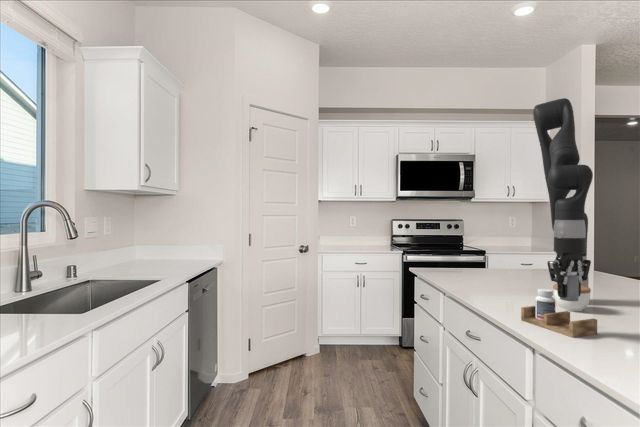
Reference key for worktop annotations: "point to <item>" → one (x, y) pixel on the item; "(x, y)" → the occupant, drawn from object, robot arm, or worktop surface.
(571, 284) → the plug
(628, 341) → the worktop surface
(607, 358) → the worktop surface
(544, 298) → the pill bottle
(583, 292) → the lidded jar
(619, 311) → the worktop surface
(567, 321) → the rack
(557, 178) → the robot arm
